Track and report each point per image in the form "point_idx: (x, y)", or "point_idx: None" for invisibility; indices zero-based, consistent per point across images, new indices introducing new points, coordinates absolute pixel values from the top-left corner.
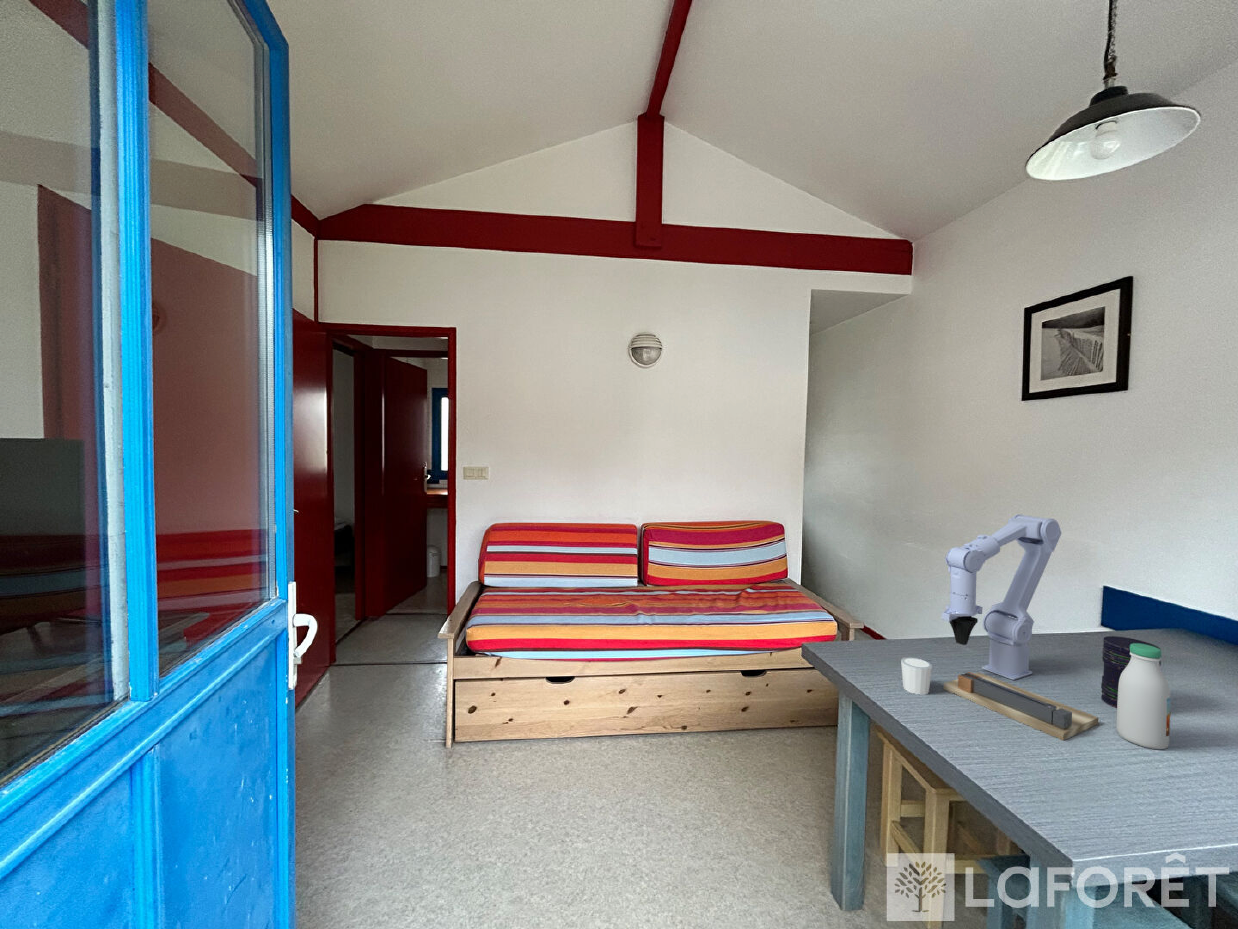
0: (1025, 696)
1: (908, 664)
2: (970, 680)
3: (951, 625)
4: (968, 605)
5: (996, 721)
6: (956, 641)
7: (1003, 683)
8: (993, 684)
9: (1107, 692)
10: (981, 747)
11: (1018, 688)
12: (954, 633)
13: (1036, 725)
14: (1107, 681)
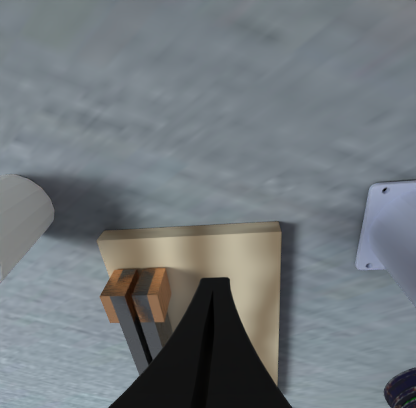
0: None
1: None
2: (110, 321)
3: (152, 365)
4: None
5: (104, 338)
6: (198, 285)
7: (267, 293)
8: (150, 350)
9: (409, 405)
10: (12, 361)
11: (271, 318)
12: (183, 318)
13: None
14: None
